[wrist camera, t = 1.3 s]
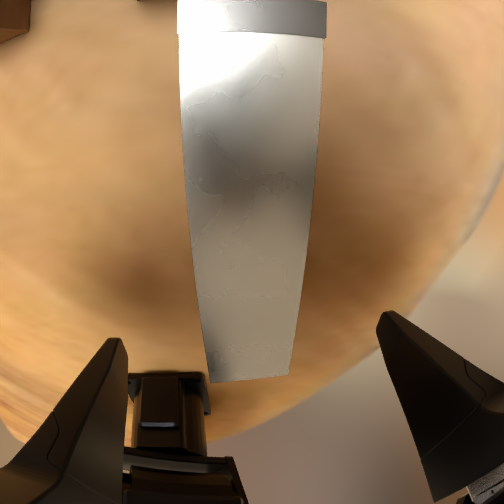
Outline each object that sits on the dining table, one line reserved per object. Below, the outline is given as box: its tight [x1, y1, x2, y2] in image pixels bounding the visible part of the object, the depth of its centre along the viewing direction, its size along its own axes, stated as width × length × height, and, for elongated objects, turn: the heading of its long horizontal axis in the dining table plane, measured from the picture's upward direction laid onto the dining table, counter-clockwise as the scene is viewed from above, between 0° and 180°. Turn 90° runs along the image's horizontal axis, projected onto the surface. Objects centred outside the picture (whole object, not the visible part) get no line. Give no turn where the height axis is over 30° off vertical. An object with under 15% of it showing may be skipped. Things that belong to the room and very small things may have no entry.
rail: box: [177, 0, 327, 383], centre depth 12 cm, size 16×4×5 cm, turn 179°
